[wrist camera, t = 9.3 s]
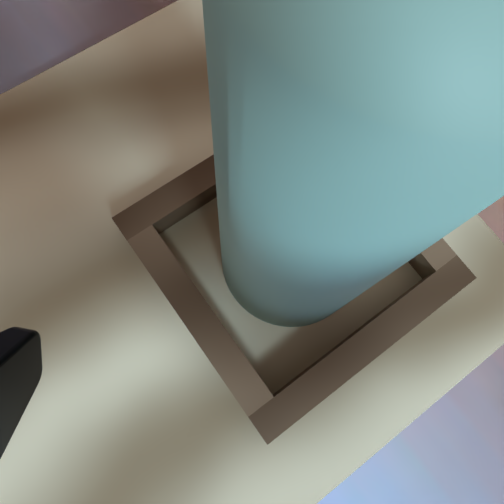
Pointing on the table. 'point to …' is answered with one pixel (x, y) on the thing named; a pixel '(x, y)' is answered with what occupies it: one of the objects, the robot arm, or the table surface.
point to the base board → (194, 303)
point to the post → (347, 140)
